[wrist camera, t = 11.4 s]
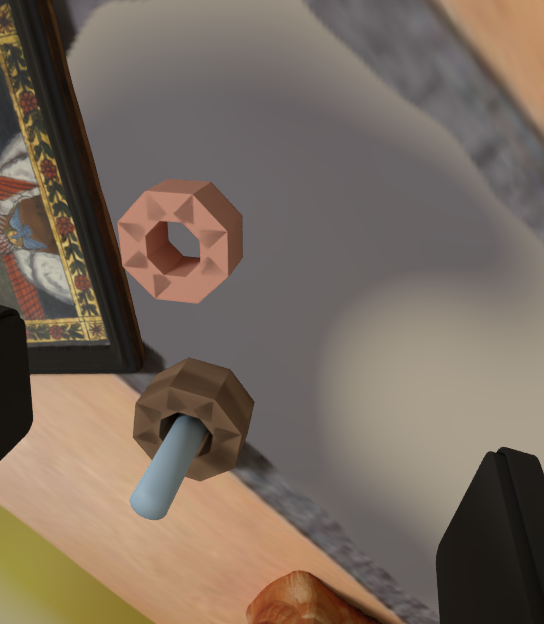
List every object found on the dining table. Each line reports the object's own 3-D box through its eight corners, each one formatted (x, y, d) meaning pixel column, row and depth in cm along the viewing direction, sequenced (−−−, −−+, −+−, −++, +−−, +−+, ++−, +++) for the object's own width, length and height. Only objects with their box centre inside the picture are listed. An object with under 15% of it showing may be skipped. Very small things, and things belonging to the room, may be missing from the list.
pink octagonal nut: (242, 183, 36) (226, 196, 33) (242, 285, 40) (228, 307, 36) (138, 176, 37) (113, 188, 34) (148, 275, 41) (126, 295, 37)
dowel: (219, 396, 45) (168, 497, 34) (215, 420, 46) (165, 524, 36) (190, 388, 45) (131, 485, 35) (186, 411, 47) (128, 513, 36)
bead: (259, 377, 43) (247, 409, 39) (242, 455, 48) (229, 490, 44) (160, 349, 44) (137, 377, 40) (151, 427, 48) (130, 459, 44)
